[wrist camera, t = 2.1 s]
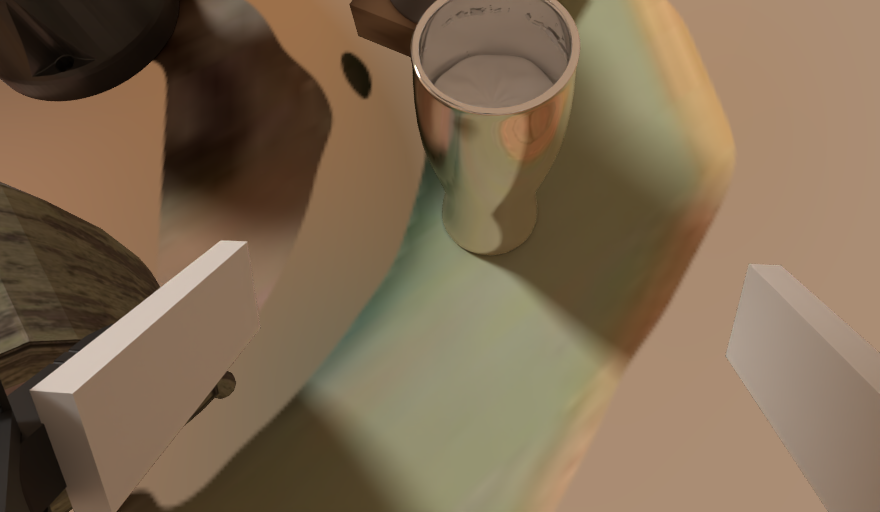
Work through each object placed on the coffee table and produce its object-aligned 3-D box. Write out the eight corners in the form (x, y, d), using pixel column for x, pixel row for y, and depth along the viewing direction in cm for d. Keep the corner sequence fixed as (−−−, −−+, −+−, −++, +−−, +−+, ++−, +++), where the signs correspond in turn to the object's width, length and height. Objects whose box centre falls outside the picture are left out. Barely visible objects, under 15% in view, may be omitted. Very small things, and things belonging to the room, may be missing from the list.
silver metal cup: (554, 177, 35) (602, -10, 21) (529, 274, 33) (564, 136, 19) (452, 155, 37) (434, -37, 23) (421, 247, 34) (380, 98, 20)
